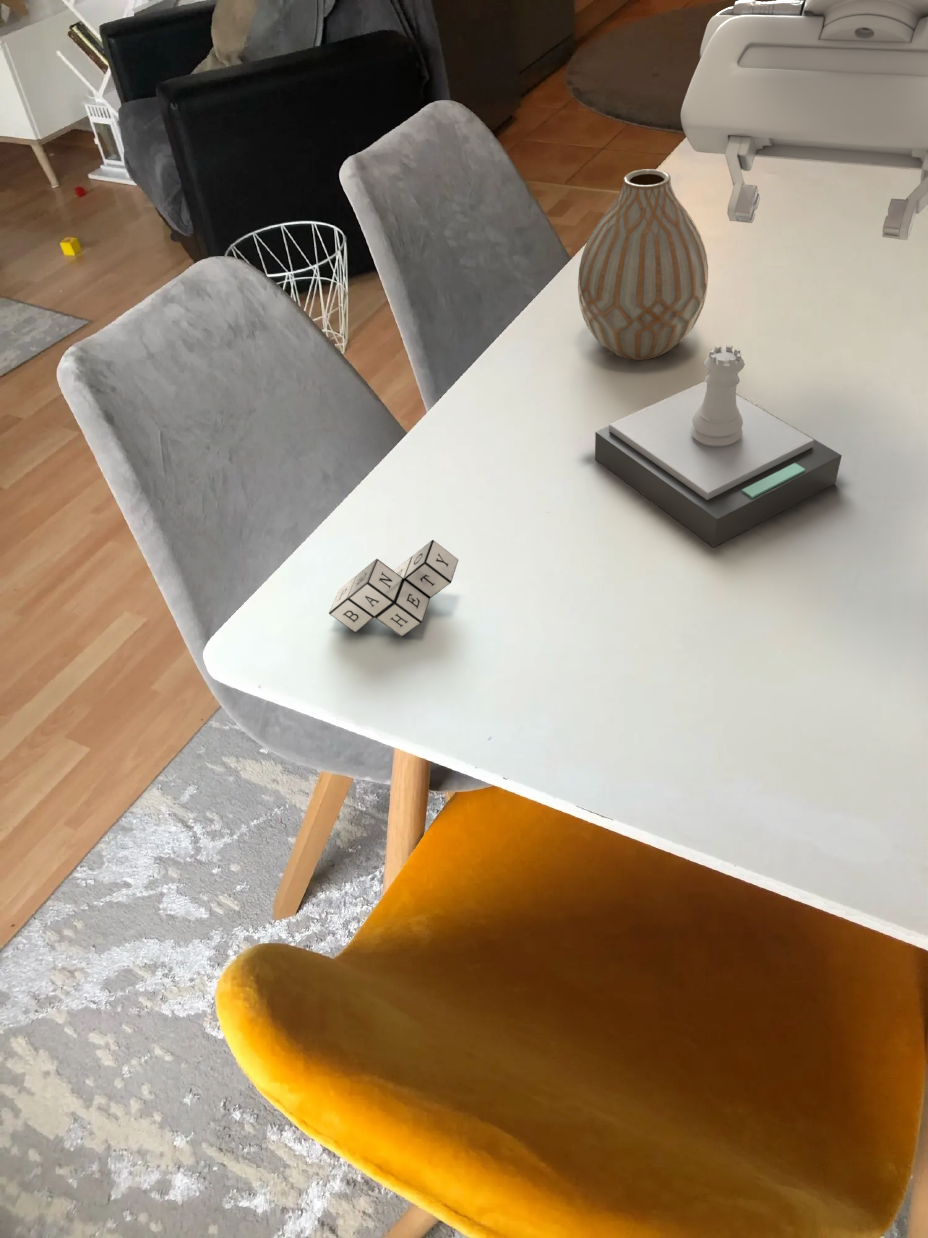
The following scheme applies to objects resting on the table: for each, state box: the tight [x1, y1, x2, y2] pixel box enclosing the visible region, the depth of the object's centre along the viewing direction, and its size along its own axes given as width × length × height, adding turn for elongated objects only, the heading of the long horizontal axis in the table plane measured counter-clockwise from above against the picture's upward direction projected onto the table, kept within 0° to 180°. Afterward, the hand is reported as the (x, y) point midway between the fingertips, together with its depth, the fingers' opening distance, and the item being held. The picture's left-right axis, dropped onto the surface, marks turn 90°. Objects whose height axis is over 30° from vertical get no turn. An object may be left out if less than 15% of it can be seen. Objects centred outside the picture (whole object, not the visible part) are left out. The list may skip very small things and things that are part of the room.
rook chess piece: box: [690, 344, 746, 448], centre depth 81 cm, size 4×4×8 cm
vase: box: [577, 168, 709, 361], centre depth 97 cm, size 13×13×18 cm
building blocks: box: [328, 539, 459, 638], centre depth 75 cm, size 5×5×8 cm
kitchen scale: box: [594, 380, 843, 548], centre depth 85 cm, size 16×14×4 cm
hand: (814, 226), depth 60 cm, fingers open, 8 cm apart
